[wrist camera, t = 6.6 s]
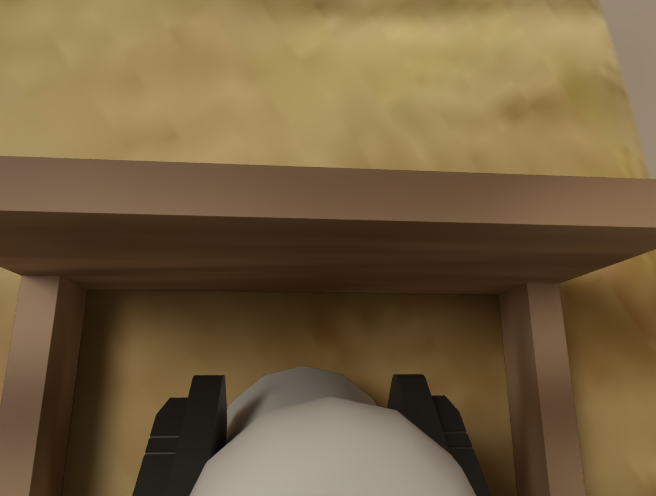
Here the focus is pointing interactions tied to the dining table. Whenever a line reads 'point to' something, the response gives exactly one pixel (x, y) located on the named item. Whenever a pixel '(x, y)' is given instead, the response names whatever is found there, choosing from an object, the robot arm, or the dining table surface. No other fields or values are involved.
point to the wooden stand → (303, 270)
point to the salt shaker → (324, 444)
